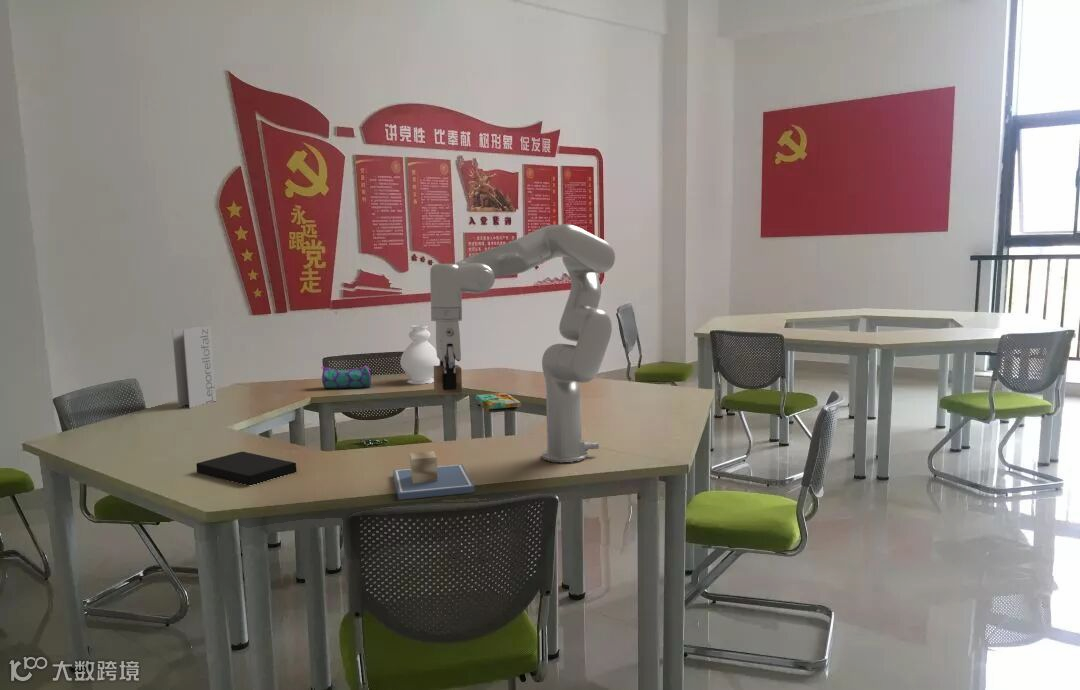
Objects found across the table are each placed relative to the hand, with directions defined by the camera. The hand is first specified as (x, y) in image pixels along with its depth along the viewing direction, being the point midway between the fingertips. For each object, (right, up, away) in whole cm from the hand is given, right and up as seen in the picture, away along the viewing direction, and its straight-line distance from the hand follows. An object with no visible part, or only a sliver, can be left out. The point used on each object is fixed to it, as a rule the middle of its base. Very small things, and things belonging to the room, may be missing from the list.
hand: (447, 386), depth 190 cm
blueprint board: (-4, -24, +2) cm, 25 cm away
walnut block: (0, -1, 0) cm, 1 cm away
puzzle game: (+7, -13, +92) cm, 93 cm away
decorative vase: (-30, -6, +152) cm, 155 cm away
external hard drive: (-56, -24, +16) cm, 63 cm away
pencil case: (-60, -8, +141) cm, 154 cm away
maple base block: (-6, -23, +1) cm, 24 cm away
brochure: (-111, -13, +112) cm, 158 cm away
